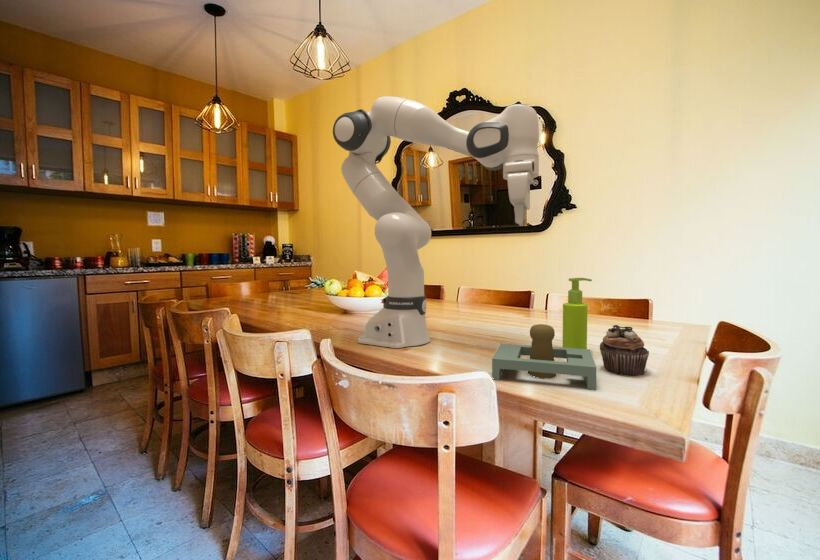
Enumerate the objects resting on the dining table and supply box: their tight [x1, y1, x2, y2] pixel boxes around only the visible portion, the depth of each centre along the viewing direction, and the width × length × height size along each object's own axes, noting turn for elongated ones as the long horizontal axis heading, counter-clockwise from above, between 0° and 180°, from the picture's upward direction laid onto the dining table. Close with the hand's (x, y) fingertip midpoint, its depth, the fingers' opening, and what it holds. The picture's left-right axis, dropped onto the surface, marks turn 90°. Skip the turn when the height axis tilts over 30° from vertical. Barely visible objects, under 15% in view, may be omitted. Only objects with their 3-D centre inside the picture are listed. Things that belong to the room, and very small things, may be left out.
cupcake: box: [599, 324, 650, 377], centre depth 84 cm, size 10×10×10 cm
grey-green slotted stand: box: [491, 342, 597, 391], centre depth 83 cm, size 20×14×4 cm
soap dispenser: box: [562, 277, 593, 349], centre depth 98 cm, size 6×7×20 cm
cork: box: [527, 323, 557, 379], centre depth 82 cm, size 6×6×11 cm
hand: (520, 224), depth 97 cm, fingers open, 8 cm apart
